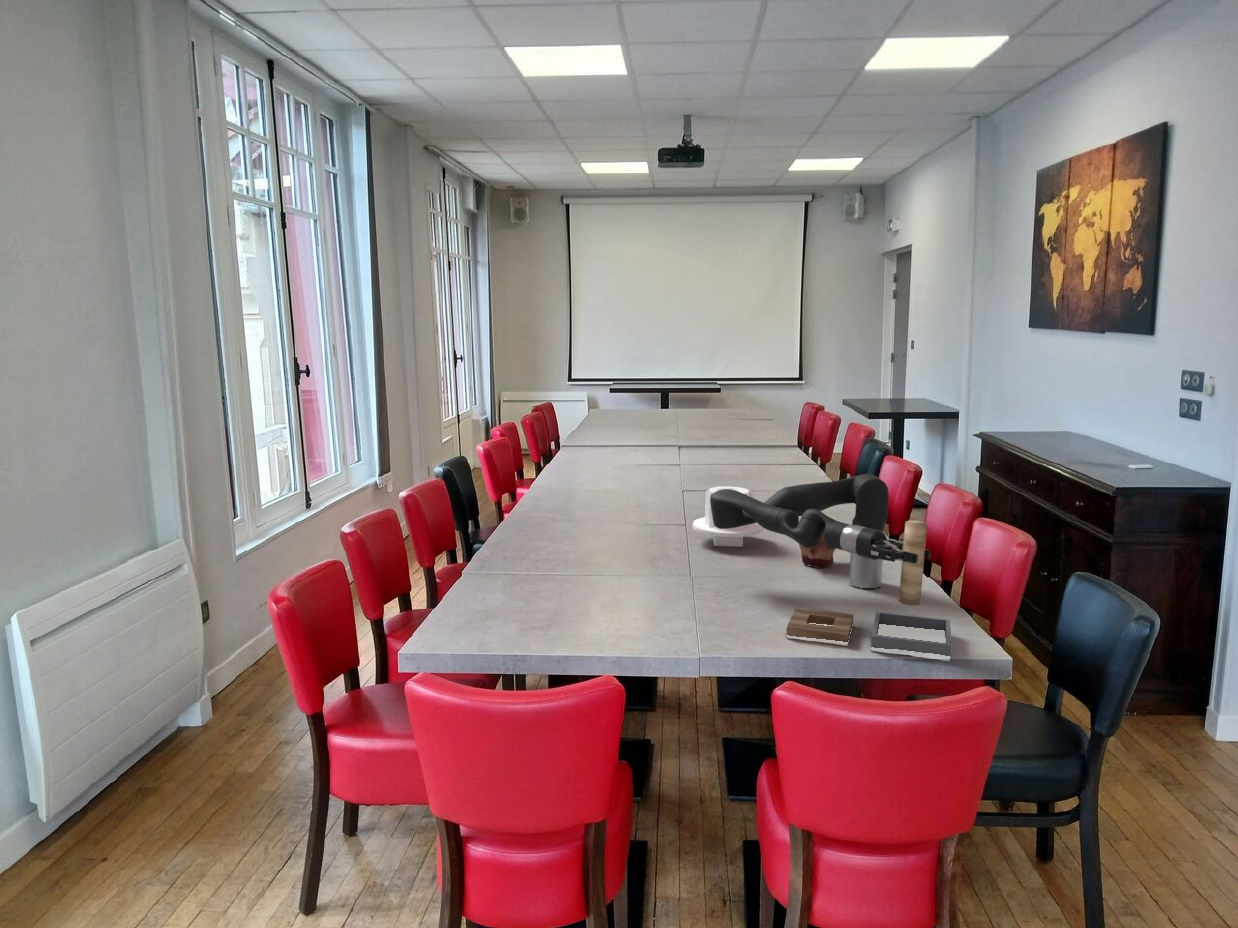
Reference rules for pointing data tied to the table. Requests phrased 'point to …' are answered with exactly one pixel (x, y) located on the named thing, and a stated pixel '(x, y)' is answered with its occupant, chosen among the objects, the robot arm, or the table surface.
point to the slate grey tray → (911, 644)
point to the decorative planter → (818, 554)
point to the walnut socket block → (803, 629)
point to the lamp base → (725, 536)
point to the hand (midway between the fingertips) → (922, 557)
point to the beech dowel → (911, 571)
